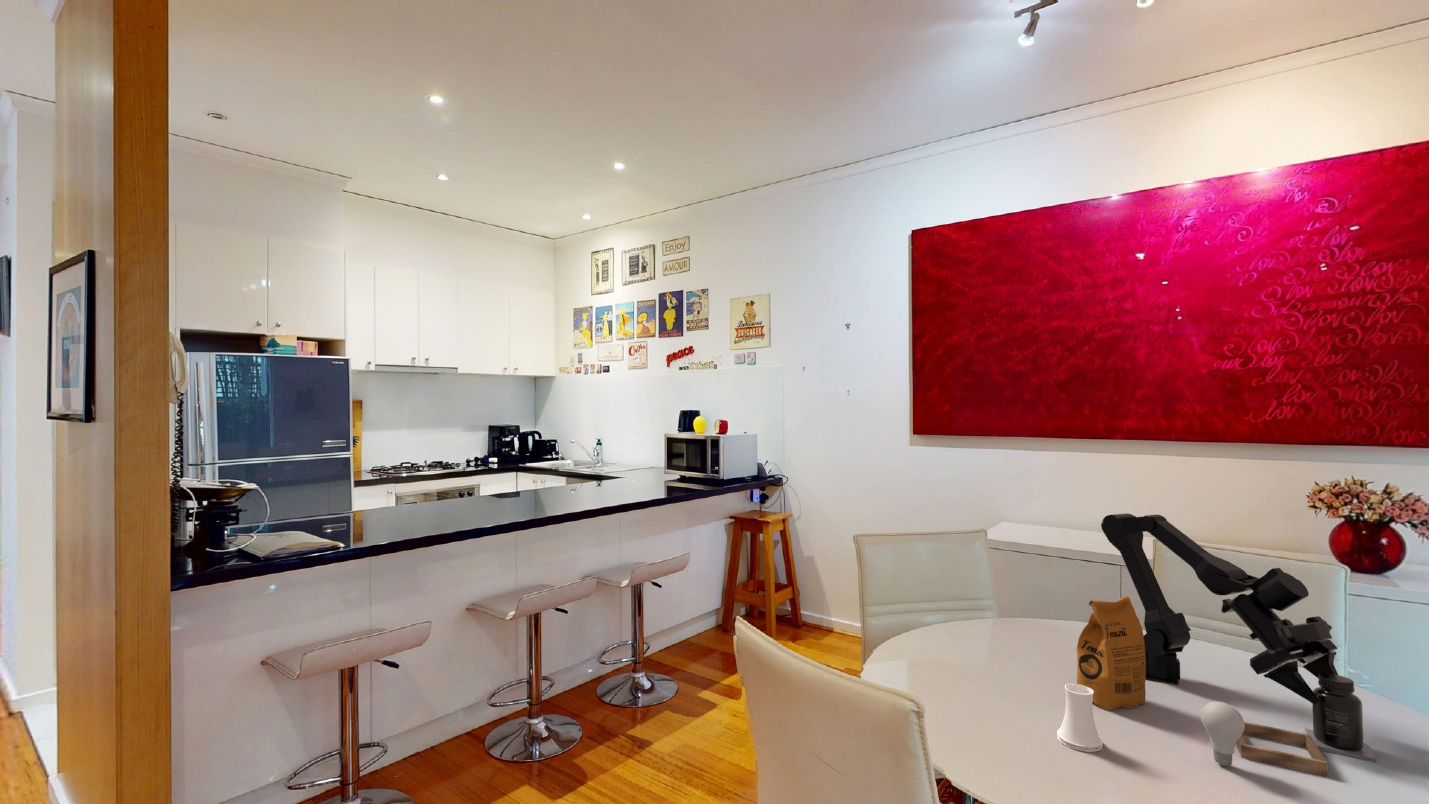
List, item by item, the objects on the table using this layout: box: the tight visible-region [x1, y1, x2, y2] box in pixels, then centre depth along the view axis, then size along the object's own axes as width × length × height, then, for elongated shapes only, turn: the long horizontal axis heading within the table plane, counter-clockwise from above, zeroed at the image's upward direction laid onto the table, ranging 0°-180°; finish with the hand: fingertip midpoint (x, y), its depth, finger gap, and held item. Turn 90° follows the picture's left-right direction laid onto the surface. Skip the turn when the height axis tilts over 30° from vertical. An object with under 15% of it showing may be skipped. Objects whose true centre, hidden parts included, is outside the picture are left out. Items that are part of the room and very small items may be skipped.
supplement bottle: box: [1311, 673, 1365, 750], centre depth 120 cm, size 7×7×12 cm
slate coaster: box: [1304, 727, 1377, 762], centre depth 120 cm, size 8×8×1 cm
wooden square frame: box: [1235, 721, 1329, 777], centre depth 118 cm, size 12×12×2 cm
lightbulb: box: [1200, 701, 1245, 767], centre depth 113 cm, size 6×6×11 cm
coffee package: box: [1076, 595, 1147, 712], centre depth 139 cm, size 10×12×22 cm
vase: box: [1056, 683, 1104, 753], centre depth 121 cm, size 8×8×10 cm
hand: (1331, 699), depth 121 cm, fingers open, 9 cm apart
